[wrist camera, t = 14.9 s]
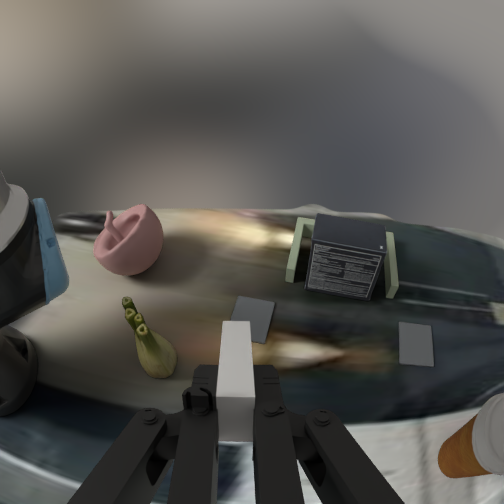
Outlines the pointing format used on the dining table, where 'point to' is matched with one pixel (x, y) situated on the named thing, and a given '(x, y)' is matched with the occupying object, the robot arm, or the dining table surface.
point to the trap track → (410, 335)
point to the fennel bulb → (150, 344)
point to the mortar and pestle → (129, 241)
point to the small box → (345, 257)
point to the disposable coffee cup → (476, 444)
